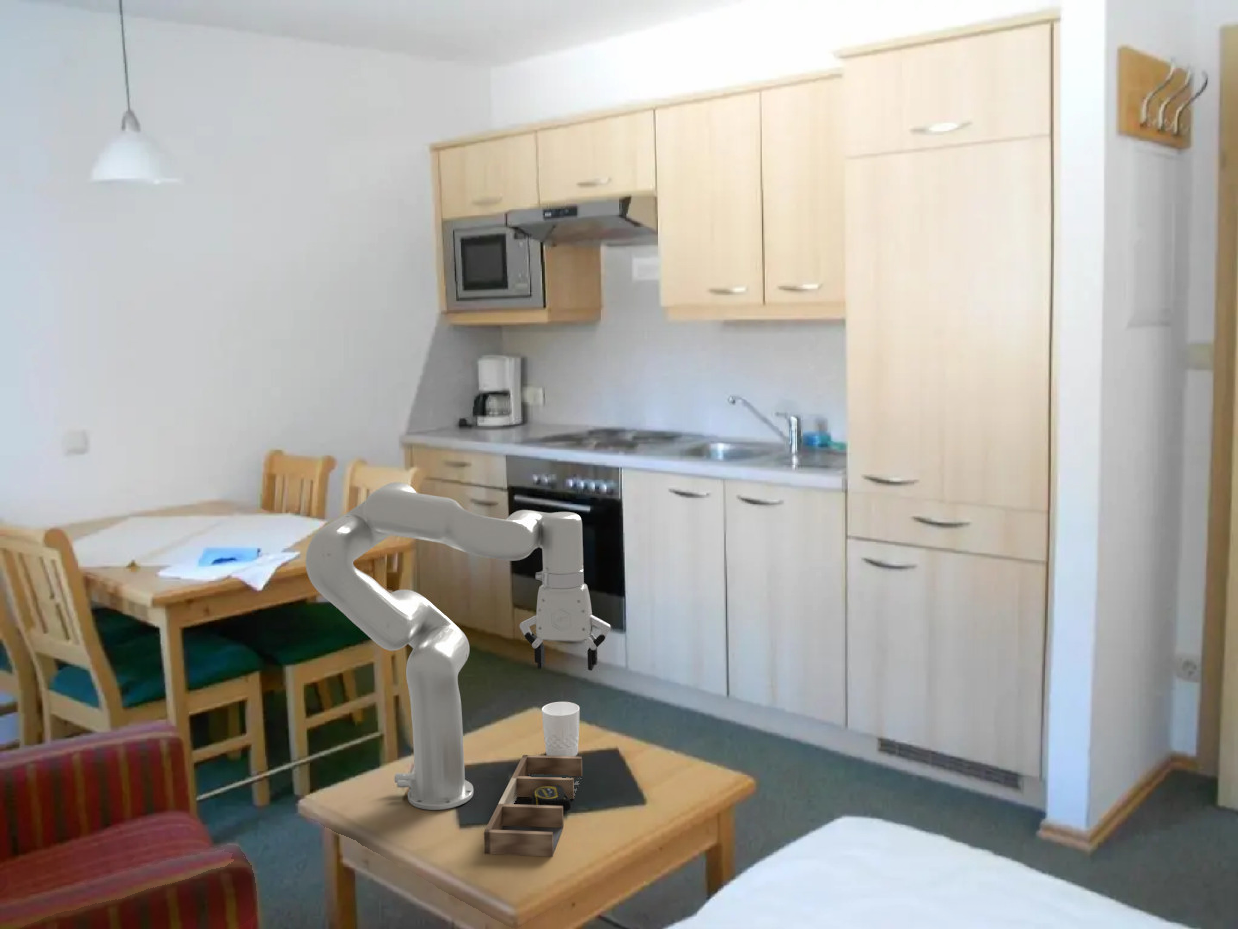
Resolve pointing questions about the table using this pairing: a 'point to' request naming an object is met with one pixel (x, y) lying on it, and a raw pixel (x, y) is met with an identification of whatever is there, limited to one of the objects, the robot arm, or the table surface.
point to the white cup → (561, 728)
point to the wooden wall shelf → (531, 808)
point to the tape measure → (551, 797)
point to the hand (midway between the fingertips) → (566, 667)
